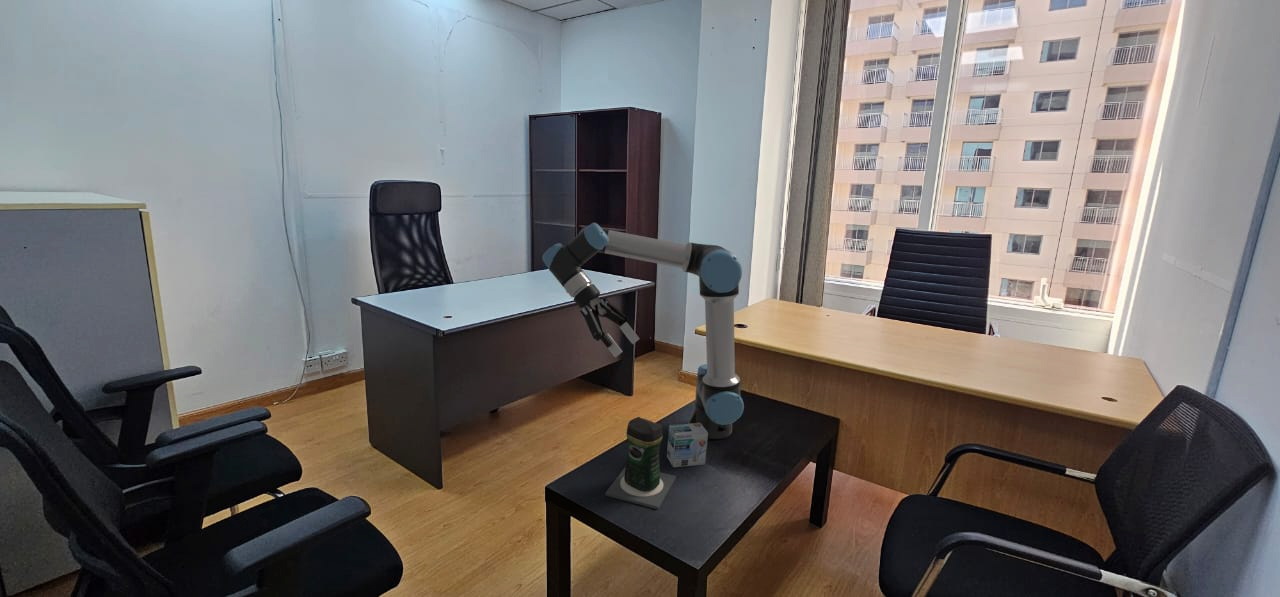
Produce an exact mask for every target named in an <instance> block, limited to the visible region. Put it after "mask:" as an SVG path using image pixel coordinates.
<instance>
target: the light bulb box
mask: <svg viewBox="0 0 1280 597" xmlns="http://www.w3.org/2000/svg"><path fill="white" fill-rule="evenodd" d="M707 447H708V432H707V431H706V429H705V428H704V427H703V426H702V424H701V423H692V424H688V423H683V424H681V423H679V424H670V425H669V427H668V436H667V452H666V453H667V454H666V458H667V459H668V460H669V463H670V465H671V466H672V467H673V468H679V467H692V466H704V465H705V464H706V457H707Z"/></svg>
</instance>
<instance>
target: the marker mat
mask: <svg viewBox="0 0 1280 597" xmlns="http://www.w3.org/2000/svg"><path fill="white" fill-rule="evenodd" d="M625 468H626V466H625V467H624V468H623V469H622V470H621V472H620V473H619V474H618V476H617V477H616V478H615V480H614V481H612V484H610V486H609V488H608V489H607V490H606V491H605V496H606V497H610V498H615V499H617V500H621V501H626V502H628V503H629V502H630V503H632V504H637V505H641V506H644V507H648V508H650V509H651V508H652V509H655V510H659V509H660V507H661V505H662V504H663V502H664V500H665V498H666V497H667V494H668V493H669V491H670V490H671V488H672V485H673V484H674V482H675V480H676V478H677V477H676V475H673V474H668V473H666V472H661V471H660V483H659V485H658V486H657V487H656V488H655V489H653V490H651V491H646V492H644V491H640V490H638V489H636V488H633V487H631V486H630V485H628V484H627V483H626V482H625V480H624V477H625Z"/></svg>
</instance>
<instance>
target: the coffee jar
mask: <svg viewBox="0 0 1280 597" xmlns="http://www.w3.org/2000/svg"><path fill="white" fill-rule="evenodd" d="M625 434H626V438H627V450H626V451H627V453H626V460H625V462H626V463H625V467H626V468H625V467H624V468H625V477H624V480H625V482H626V483H627V484H628V485H630V486H631V487H633V488H636V489H638V490H640V491H644V492H646V491H651V490H653V489H655V488H656V487H657V486H658V485H659V483H660V472H661V470H660V465H661V464H660V447H661V446H660V445H661V442H662V440H663V435H664V434H663V427H662V425H661V424H659V423H656V422H654V421H652V420H648V419H646V418H642V417H640V416H637V417H634V418H633V419H630V420H629V422H628V424H627V428H626V433H625Z"/></svg>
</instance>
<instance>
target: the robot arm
mask: <svg viewBox="0 0 1280 597" xmlns="http://www.w3.org/2000/svg"><path fill="white" fill-rule="evenodd" d="M597 253H600V254H601V253H602V254H606V255H612V256H618V257H622V258H629V259H632V260H633V259H634V260H637V261H638V260H639V261H642V262H643V261H644V262H649V263H654V264H658V265H659V264H660V265H664V266H669V267H675V268H678V269H682V271H683V272H684V273H689V274H692V275H694V276H698V281H699V296H700V297H701V298H702V299H704V309H705V310H704V311H705V313H704V314H705V315H704V316H705V317H704V318H705V338H706V339H705V342H706V343H705V347H706V349H705V350H706V363H705V364H702V365H699V366H698V368H697V373H696V375H697V377H696V387H695V400H694V407H693V410H692V412H691V413H690V416H689V419H688V423H687V424H692V423H701V424H702V426H703V427H704V428H705V429H706V431H707V432H708V438H707V440H720V439H721V440H722V439H726V438H729V436H731V434H732V432H733V424H734V423H735V422H736V421H737V420H739V419H740V418H741V416H742V415H743V413H744V409H745V406H744V400H743V398H742V396H741V378H740V376H739V375H738V374H737V373H736V363H735V362H736V359H735V358H736V357H735V352H736V351H735V347H736V346H735V306H734V305H735V301H734V300H735V298H736V297H737V296H738V295H739V292H740V291H739V290H740V281H741V279H742V278H743V277H742V276H743V269H742V265H741V264H742V263H740V260H739V258H738V257H737V256H736V255H735V254H734V253H732V252H731V251H729V250H728V249H726V248H724V247H722V246H720V245H714V244H707V243H706V244H703V243H696V242H692V241H691V242H688V243H686V244H685V243H679V242H673V241H669V240H663V239H658V238H652V237H648V236H642V235H637V234H631V233H627V232H622V231H617V230H611V229H606V228H602V227H601V226H600V225H599V224H598V223H597V222H592V223H590V224H589V225H586V226H584V227H583V228H581V230H580V231H578V234H577V235H576V236H575V237H574V238H572V240H570V241H569V242H568V243H566V245H563V244H562V243H559V242H558V243H556V244H554V245H552V246H551V247H549V248H548V249H547V250H546V251H545V252H544V253H543V254H542V261H543V263H544V264H545V265H546V267H547V269H548V271H549V272H550V273H551V274H552V275H553V277H555V279H556V280H557V281H558V283H559V284H561V286H562V287H563V289H564V290H565V291H566V293H567V294H568V295H569V296H570V298H573V301H574V303H575V304H576V305H577V307H578V308H579V309H580V313H581V315H582V316H583V318H584V320H585V323H586V325H587V327H588V330H589V331H590V334H591V336H592V338H593V339H594V340H595V341H596V342H599V341H601V342H602V343H603V344H604V346H605V347H606V349H608V351H609V352H610V353H611V354H612V356H613V357H614V358H617V357H619V355H620V354H622V353H623V352H624V351H623V350H622V348H621V347H620V345H618V344H617V342H616V341H615V340H614V338H613V337H612V336H611V335H610V333H609V332H608V333H607V331H606V328H605V325H604V322H603V318H606V319H607V320H609V321H611V322H613V323H614V324H616V325H618V326H619V330H621V331H622V333H623V334H624V335H625V337H626V338H627V339H628V341H629V342H630V343H631V344H632V345H634V344H636V342H638V341H639V340H640V339H641V338H640V337H639V336H638V334H637V333H636V332H635V330H633V328H632V327H631V326H630V324H629V323H628V321H629V317H628V316H627V315H626V314H624V313H623V312H622V311H621V310H620V309H618V307H616V306H615V305H614V304H612V302H610V301H609V299H607V298H606V297H605V296H603V298H602V299H601V298H599V296H600V295H601V291H600V290H599V289H598V287H596V285H595V284H593V283H592V280H591V279H590V278H589V276H588V275H587V274H586V272H584V270H583V269H582V266H583V265H584V264H585V263H587V261H589V260H590V259H591V258H593V257H594V256H595V255H596V254H597Z"/></svg>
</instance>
